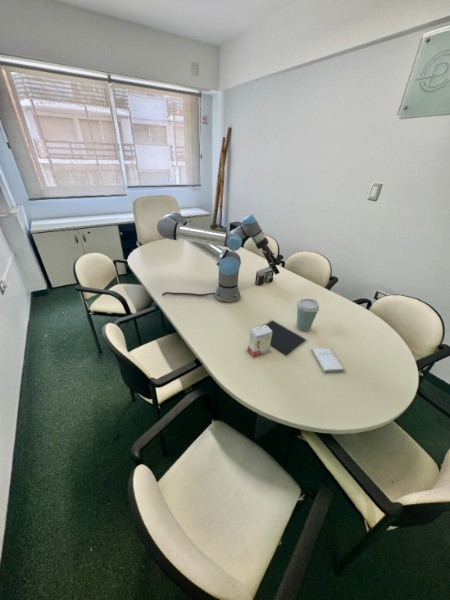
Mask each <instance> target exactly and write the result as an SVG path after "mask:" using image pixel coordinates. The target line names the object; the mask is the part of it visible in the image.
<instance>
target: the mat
mask: <svg viewBox="0 0 450 600" xmlns="http://www.w3.org/2000/svg"><path fill="white" fill-rule="evenodd" d="M265 325H267V326H268V327H269V328H270V329H271V330H272V331H273V332H272V337H271V343H270V347H272V348H273V349H275V350H277V351H278V352H280V353H281V354H283V355H284V356H287V355H289V354H290V353H291V352H293V351H294V350H296V348H297V347H300V345H301V344H303V343H304V342H305V341H306V338H305V337H302V336H300V335H299V334H297V333H295V332H294V331H292V330H290V329H288V328H286V327H285V326H283V325H282V324H281V325H280V324H279V323H277V322H276V321H273V320H271V321H269V322H268V323H266V324H265Z"/></svg>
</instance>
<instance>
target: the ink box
mask: <svg viewBox="0 0 450 600" xmlns="http://www.w3.org/2000/svg"><path fill="white" fill-rule="evenodd" d="M272 332H273V331H272V330H271V329H270V328H269V327H268V326H267V325H266V324H265V325H261V326H258V327H254V328H251V329H250V331H249V339H248V346H247V347H248V348H247V351H248V352H249V353H250V354H251V356H252V357H253V358H254V357H257V356H259V355H263V354H265V353H268V352H270V347H271V345H270V343H271V337H272Z"/></svg>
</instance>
